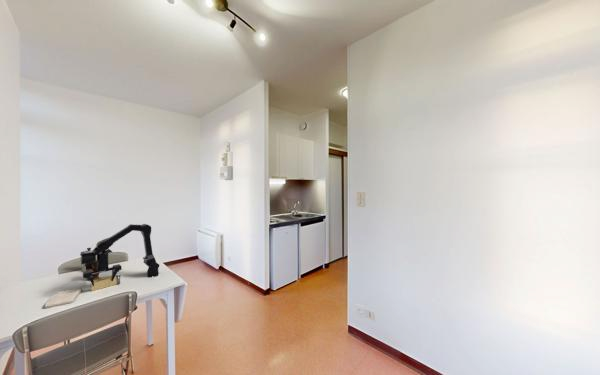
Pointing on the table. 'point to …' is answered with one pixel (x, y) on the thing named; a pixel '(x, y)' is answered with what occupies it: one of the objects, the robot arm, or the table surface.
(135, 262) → the table surface
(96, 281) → the block
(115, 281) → the swing leaf
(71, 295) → the washcloth
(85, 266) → the coffee maker
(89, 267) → the brown rounded piece
